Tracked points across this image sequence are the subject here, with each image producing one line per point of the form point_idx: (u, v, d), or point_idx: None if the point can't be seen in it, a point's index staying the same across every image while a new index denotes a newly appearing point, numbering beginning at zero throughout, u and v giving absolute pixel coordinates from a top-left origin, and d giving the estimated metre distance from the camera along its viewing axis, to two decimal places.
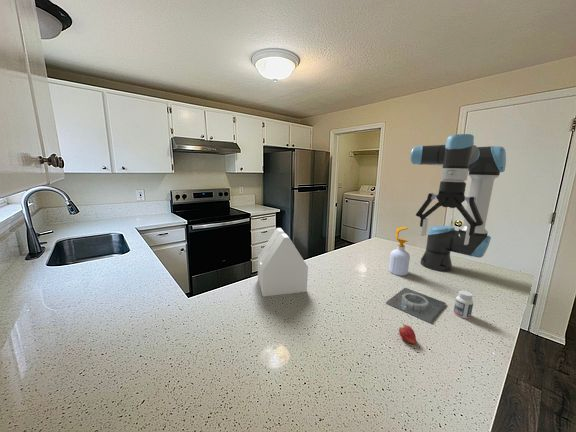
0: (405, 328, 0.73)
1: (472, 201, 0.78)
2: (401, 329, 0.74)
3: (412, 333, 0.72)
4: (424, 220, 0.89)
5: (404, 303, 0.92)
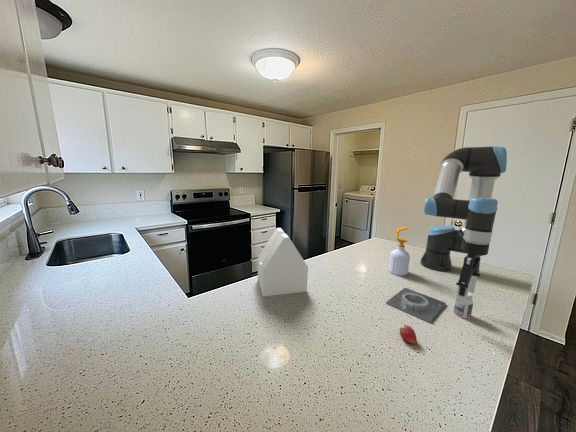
0: (405, 328, 0.73)
1: (464, 261, 0.80)
2: (402, 329, 0.74)
3: (413, 333, 0.72)
4: None
5: (404, 303, 0.92)
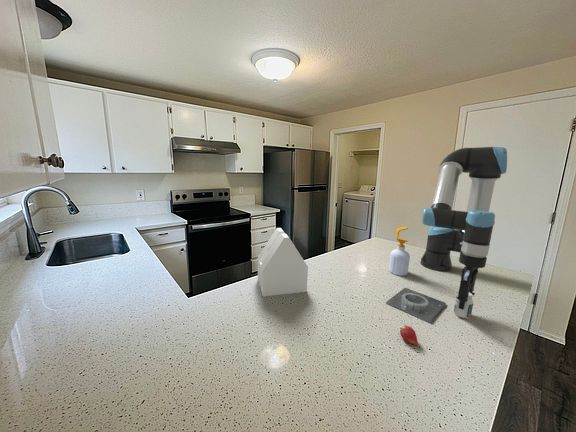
0: (406, 329, 0.73)
1: (461, 277, 0.82)
2: (402, 330, 0.74)
3: (413, 334, 0.72)
4: None
5: (404, 303, 0.92)
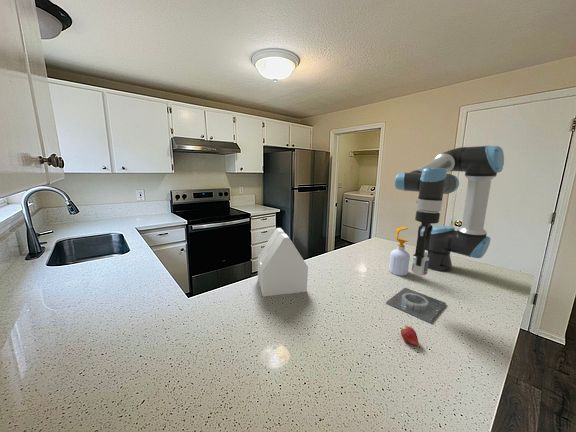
0: (407, 329, 0.73)
1: (418, 234, 0.83)
2: (403, 330, 0.73)
3: (414, 334, 0.72)
4: None
5: (404, 303, 0.92)
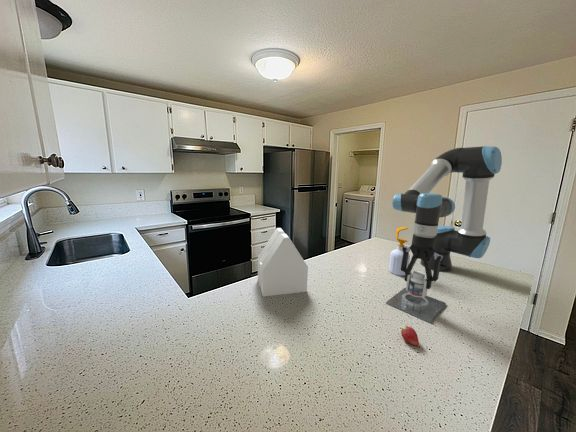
0: (407, 329, 0.73)
1: (438, 260, 0.84)
2: (403, 330, 0.73)
3: (414, 335, 0.72)
4: (408, 276, 0.92)
5: (404, 303, 0.92)
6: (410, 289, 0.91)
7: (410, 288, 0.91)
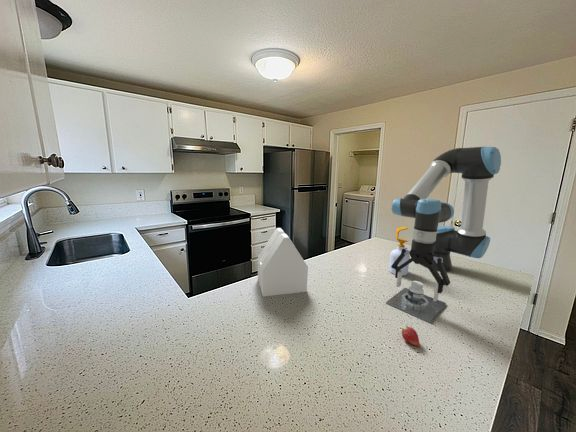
0: (408, 330, 0.72)
1: (440, 262, 0.83)
2: (404, 331, 0.73)
3: (415, 335, 0.71)
4: (398, 273, 0.95)
5: (404, 303, 0.92)
6: (408, 299, 0.92)
7: (408, 298, 0.92)
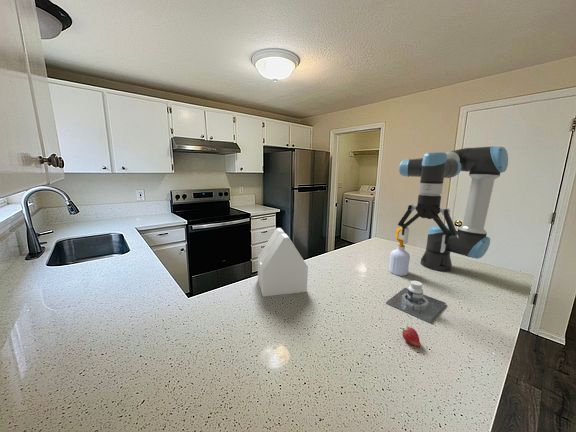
0: (408, 330, 0.72)
1: (446, 213, 0.85)
2: (404, 331, 0.73)
3: (416, 335, 0.71)
4: (405, 229, 0.97)
5: (404, 303, 0.92)
6: (408, 299, 0.92)
7: (408, 298, 0.92)
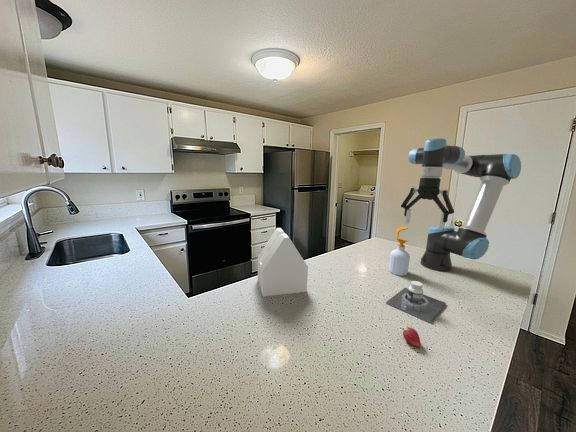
0: (409, 330, 0.72)
1: (445, 194, 0.94)
2: (405, 332, 0.73)
3: (416, 336, 0.71)
4: (407, 210, 1.06)
5: (404, 303, 0.92)
6: (408, 299, 0.92)
7: (408, 298, 0.92)
